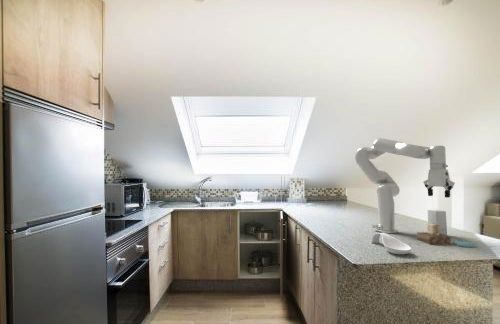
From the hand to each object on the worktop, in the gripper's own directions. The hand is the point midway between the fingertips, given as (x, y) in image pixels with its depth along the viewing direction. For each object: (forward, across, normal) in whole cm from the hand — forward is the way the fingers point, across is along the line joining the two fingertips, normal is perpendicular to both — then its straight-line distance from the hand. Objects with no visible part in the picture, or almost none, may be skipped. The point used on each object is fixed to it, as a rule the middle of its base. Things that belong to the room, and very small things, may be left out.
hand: (438, 196), depth 151 cm
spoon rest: (+26, -3, +41) cm, 48 cm away
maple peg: (+25, 0, +5) cm, 26 cm away
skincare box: (+26, +10, -11) cm, 30 cm away
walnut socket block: (+25, 0, +5) cm, 26 cm away
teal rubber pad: (+26, -10, -4) cm, 28 cm away
